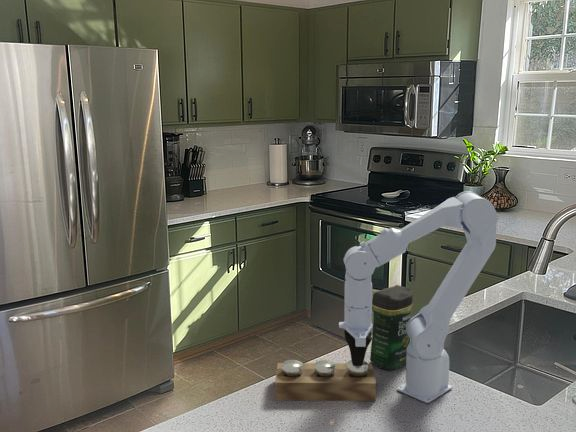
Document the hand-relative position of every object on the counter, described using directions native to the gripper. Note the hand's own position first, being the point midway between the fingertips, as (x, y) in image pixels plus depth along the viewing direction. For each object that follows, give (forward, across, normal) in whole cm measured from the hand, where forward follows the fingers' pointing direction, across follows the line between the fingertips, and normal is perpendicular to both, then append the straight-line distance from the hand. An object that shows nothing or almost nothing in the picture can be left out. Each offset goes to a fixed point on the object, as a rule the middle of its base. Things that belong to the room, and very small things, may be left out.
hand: (357, 364), depth 120 cm
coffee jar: (+6, -13, +9) cm, 17 cm away
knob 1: (+6, 0, -14) cm, 15 cm away
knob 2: (+6, 0, 0) cm, 6 cm away
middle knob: (+6, 0, -7) cm, 9 cm away
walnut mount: (+6, 0, -7) cm, 9 cm away
